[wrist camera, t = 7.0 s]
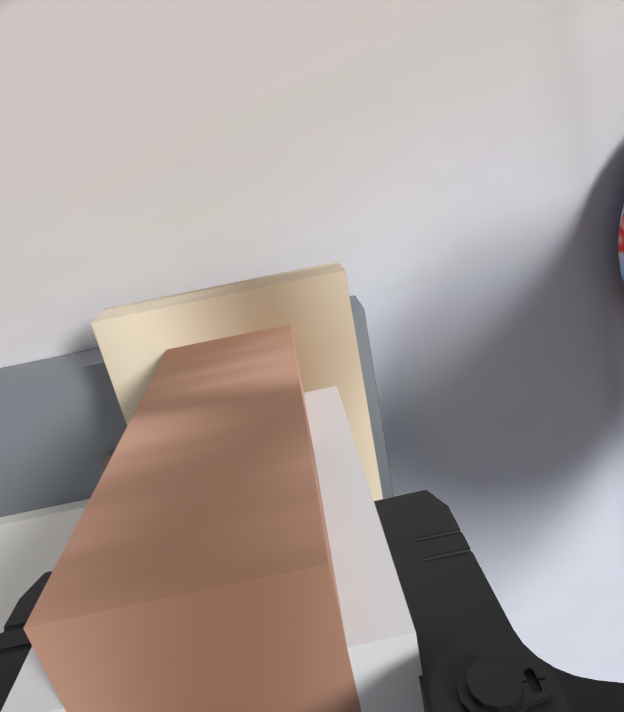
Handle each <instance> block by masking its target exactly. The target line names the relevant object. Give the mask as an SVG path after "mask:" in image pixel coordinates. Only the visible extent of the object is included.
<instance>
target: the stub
mask: <svg viewBox="0 0 624 712" xmlns="http://www.w3.org/2000/svg"><path fill="white" fill-rule="evenodd" d="M91 325H92V328H93V331H94V334H95V337H96V339H97V342H98V345H99V348H100V351H101V353H102V356H103V359H104V362H105V365H106V368H107V370H108V373H109V376H110V379H111V382H112V384H113V387H114V390H115V393H116V396H117V398H118V401H119V404H120V407H121V410H122V412H123V415H124V418H125V421H126V424H127V428H126V430H125V432H124V434H123V436H122V437H121V439H120V441H119V443H118V445H117V447H116V449H115V451H114V453H113V455H112V457H111V459H110V461H109V463H108V465H107V467H106V469H105V471H104V472H103V474H102V476H101V478H100V480H99V482H98V484H97V486H96V488H95V490H94V492H93V494H92V496H91V498H90V500H89V502H88V504H87V506H86V507H85V509H84V511H83V513H82V515H81V517H80V519H79V521H78V523H77V525H76V527H75V529H74V531H73V533H72V535H71V537H70V539H69V541H68V542H67V544H66V546H65V548H64V550H63V552H62V554H61V556H60V558H59V560H58V562H57V564H56V566H55V568H54V570H53V572H52V574H51V576H50V577H49V579H48V581H47V583H46V585H45V587H44V589H43V591H42V593H41V595H40V597H39V599H38V601H37V603H36V605H35V607H34V609H33V611H32V612H31V614H30V616H29V618H28V620H27V622H26V624H25V626H24V628H23V629H24V631H25V633H26V635H27V637H28V639H29V641H30V643H31V644H32V646H33V648H34V650H35V652H36V654H37V656H38V658H39V660H40V662H41V664H42V666H43V668H44V670H45V671H46V673H47V675H48V677H49V679H50V681H51V683H52V685H53V687H54V689H55V691H56V693H57V695H58V697H59V698H60V700H61V702H62V704H63V706H64V708H65V710H66V712H361V708H360V703H359V699H358V694H357V690H356V685H355V681H354V676H353V672H352V667H351V663H350V658H349V654H348V649H347V644H346V638H345V632H344V626H343V621H342V615H341V609H340V603H339V597H338V591H337V585H336V579H335V573H334V567H333V562H332V556H331V550H330V544H329V538H328V532H327V526H326V520H325V514H324V508H323V503H322V497H321V491H320V485H319V479H318V473H317V467H316V461H315V455H314V450H313V444H312V438H311V432H310V426H309V420H308V414H307V408H306V402H305V396H304V393H305V392H310V391H315V390H319V389H324V388H329V387H334V386H337V388H338V391H339V394H340V397H341V400H342V403H343V407H344V410H345V413H346V416H347V419H348V422H349V425H350V428H351V432H352V435H353V438H354V441H355V444H356V447H357V450H358V453H359V457H360V460H361V463H362V466H363V469H364V472H365V475H366V478H367V482H368V485H369V488H370V491H371V494H372V497H373V500H374V501H377V500H382V499H383V496H382V490H381V484H380V478H379V472H378V466H377V460H376V454H375V448H374V442H373V436H372V429H371V423H370V417H369V411H368V405H367V399H366V393H365V387H364V381H363V375H362V369H361V363H360V357H359V351H358V345H357V339H356V333H355V327H354V321H353V315H352V309H351V303H350V297H349V291H348V285H347V279H346V273H345V270H344V268H343V267H342V266H341V264H340V263H339V262H333V263H328V264H323V265H318V266H314V267H309V268H304V269H299V270H294V271H289V272H284V273H279V274H274V275H269V276H264V277H260V278H255V279H250V280H245V281H240V282H235V283H230V284H225V285H220V286H215V287H211V288H206V289H201V290H196V291H191V292H186V293H181V294H176V295H171V296H166V297H162V298H157V299H152V300H147V301H142V302H137V303H132V304H127V305H122V306H117V307H113V308H108V309H105V310H104V311H103V312H101V313H100V314H99V315H98V316H97V317H96V318H95V319H94V320H93V321H92V322H91Z"/></svg>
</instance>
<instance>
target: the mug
mask: <svg viewBox="0 0 624 712" xmlns="http://www.w3.org/2000/svg"><path fill="white" fill-rule="evenodd" d="M618 254H619V265H620V271H621V276H622V280H623V283H624V205H623V210H622V214H621V219H620V227H619V238H618Z"/></svg>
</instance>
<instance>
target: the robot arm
mask: <svg viewBox="0 0 624 712" xmlns="http://www.w3.org/2000/svg"><path fill="white" fill-rule="evenodd" d="M304 396H305V402H306V408H307V414H308V420H309V426H310V432H311V438H312V444H313V450H314V455H315V461H316V467H317V473H318V479H319V485H320V491H321V497H322V503H323V508H324V514H325V520H326V526H327V532H328V538H329V544H330V550H331V556H332V562H333V567H334V573H335V579H336V585H337V591H338V597H339V603H340V609H341V615H342V621H343V626H344V632H345V638H346V644H347V649H348V654H349V658H350V663H351V667H352V672H353V676H354V681H355V685H356V690H357V694H358V699H359V703H360V708H361V712H624V683H617V682H608V681H598V680H593V679H588V678H583V677H578V676H574V675H571V674H569V673H566V672H564V671H561V670H559V669H557V668H554V667H553V666H551V665H550V664H548V663H546V662H545V661H543V660H542V659H540V658H538V657H537V656H536V655H535V654H534V653H533V652H532V651H530V650H529V649H528V648H527V647H526V646H525V645H524V644H523V643H522V641H521V640H520V638H519V637H518V636H517V634H516V633H515V631H514V630H513V628H512V626H511V624H510V622H509V620H508V619H507V617H506V615H505V613H504V611H503V609H502V607H501V605H500V603H499V602H498V600H497V598H496V596H495V594H494V592H493V590H492V588H491V586H490V585H489V583H488V581H487V579H486V577H485V575H484V573H483V571H482V569H481V568H480V566H479V564H478V562H477V560H476V558H475V556H474V554H473V552H472V553H471V550H470V547H469V545H468V543H467V541H466V539H465V537H464V536H463V534H462V533H461V532H460V528H459V526H458V524H457V522H456V520H455V519H454V517H453V515H452V513H451V511H450V509H449V507H448V506H447V505H446V504H444V503H443V502H442V501H440V500H439V499H438V498H436V497H435V496H434V495H432V494H431V493H430V492H428V491H427V490H424V491H420V492H415V493H410V494H405V495H401V496H396V497H391V498H386V499H382V500H377V501H374V500H373V497H372V494H371V491H370V488H369V485H368V482H367V478H366V475H365V472H364V469H363V466H362V463H361V460H360V457H359V453H358V450H357V447H356V444H355V441H354V438H353V435H352V432H351V428H350V425H349V422H348V419H347V416H346V413H345V410H344V407H343V403H342V400H341V397H340V394H339V391H338V388H337V386H334V387H329V388H324V389H319V390H315V391H310V392H305V393H304ZM52 572H53V571H49V572H45V573H44V574H43V575H42V576H41V577H40V578H39V579H38V580H37V581H36V582H35V583H34V584H33V585H32V586H31V587H30V588H29V589H28V590H27V591H26V592H25V594H24V595H23V596H22V597H21V598H20V599H19V600H18V602H17V604H16V606H15V608H14V609H13V611H12V613H11V615H10V617H9V618H8V620H7V622H6V624H5V626H4V632H2V633H0V712H66V710H65V708H64V706H63V704H62V702H61V700H60V698H59V697H58V695H57V693H56V691H55V689H54V687H53V685H52V683H51V681H50V679H49V677H48V675H47V673H46V671H45V670H44V668H43V666H42V664H41V662H40V660H39V658H38V656H37V654H36V652H35V650H34V648H33V646H32V644H31V643H30V641H29V639H28V637H27V635H26V633H25V631H24V629H23V628H24V626H25V624H26V622H27V620H28V618H29V616H30V614H31V612H32V611H33V609H34V607H35V605H36V603H37V601H38V599H39V597H40V595H41V593H42V591H43V589H44V587H45V585H46V583H47V581H48V579H49V577H50V576H51V574H52Z"/></svg>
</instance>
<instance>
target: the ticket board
mask: <svg viewBox="0 0 624 712" xmlns="http://www.w3.org/2000/svg"><path fill="white" fill-rule="evenodd" d="M350 303H351V309H352V315H353V321H354V327H355V333H356V339H357V345H358V351H359V357H360V363H361V369H362V375H363V381H364V387H365V393H366V399H367V405H368V411H369V417H370V423H371V429H372V436H373V442H374V448H375V454H376V460H377V466H378V472H379V478H380V484H381V490H382V496H383V499H386V498H391V497H394V496H393V490H392V483H391V477H390V470H389V464H388V458H387V451H386V445H385V439H384V432H383V426H382V419H381V413H380V407H379V400H378V394H377V388H376V381H375V375H374V368H373V362H372V356H371V349H370V343H369V337H368V330H367V324H366V318H365V311H364V308H363V307H362V305H361V304H360V302H359V301H358V299H357V298H356V296H351V297H350ZM126 428H127V424H126V421H125V418H124V415H123V412H122V410H121V407H120V404H119V401H118V398H117V396H116V393H115V390H114V387H113V384H112V382H111V379H110V376H109V373H108V370H107V368H106V365H105V362H104V359H103V356H102V353H101V351H100V348H97V349H92V350H87V351H82V352H78V353H73V354H68V355H63V356H58V357H53V358H48V359H43V360H39V361H34V362H29V363H24V364H19V365H14V366H9V367H4V368H0V633H2V632H4V626H5V624H6V622H7V620H8V618H9V617H10V615H11V613H12V611H13V609H14V608H15V606H16V604H17V602H18V600H19V599H20V598H21V597H22V596H23V595H24V594H25V592H26V591H27V590H28V589H29V588H30V587H31V586H32V585H33V584H34V583H35V582H36V581H37V580H38V579H39V578H40V577H41V576H42V575H43V574H44V573H45V572H49V571H53V570H54V568H55V566H56V564H57V562H58V560H59V558H60V556H61V554H62V552H63V550H64V548H65V546H66V544H67V542H68V541H69V539H70V537H71V535H72V533H73V531H74V529H75V527H76V525H77V523H78V521H79V519H80V517H81V515H82V513H83V511H84V509H85V507H86V506H87V504H88V502H89V500H90V498H91V496H92V494H93V492H94V490H95V488H96V486H97V484H98V482H99V480H100V478H101V476H102V474H103V472H104V471H105V469H106V467H107V465H108V463H109V461H110V459H111V457H112V455H113V453H114V451H115V449H116V447H117V445H118V443H119V441H120V439H121V437H122V436H123V434H124V432H125V430H126Z"/></svg>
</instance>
